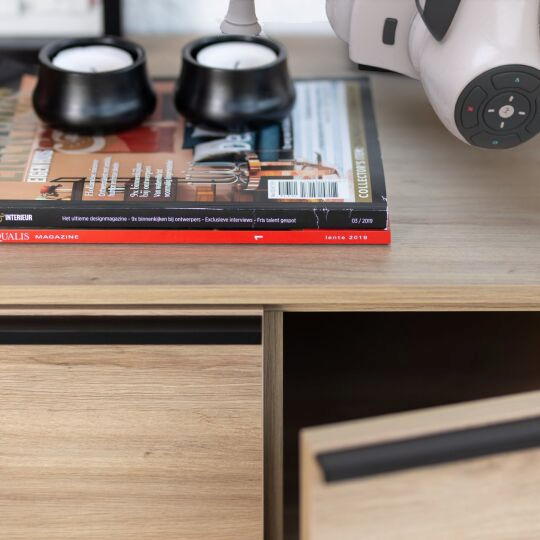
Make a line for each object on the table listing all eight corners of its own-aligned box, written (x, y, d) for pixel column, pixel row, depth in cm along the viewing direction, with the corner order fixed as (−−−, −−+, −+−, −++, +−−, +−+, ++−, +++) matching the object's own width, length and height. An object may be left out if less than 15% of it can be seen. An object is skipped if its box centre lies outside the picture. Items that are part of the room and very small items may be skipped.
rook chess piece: (211, 44, 97) (214, -35, 93) (228, 31, 101) (231, -46, 96) (251, 52, 96) (256, -27, 91) (267, 39, 99) (273, -38, 95)
